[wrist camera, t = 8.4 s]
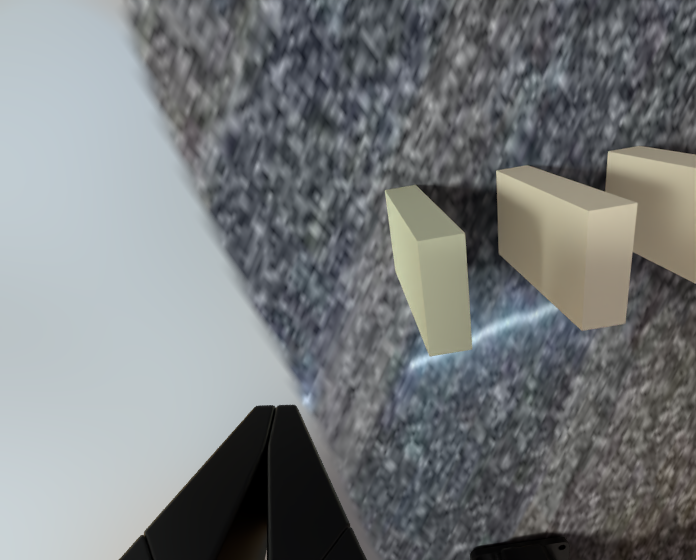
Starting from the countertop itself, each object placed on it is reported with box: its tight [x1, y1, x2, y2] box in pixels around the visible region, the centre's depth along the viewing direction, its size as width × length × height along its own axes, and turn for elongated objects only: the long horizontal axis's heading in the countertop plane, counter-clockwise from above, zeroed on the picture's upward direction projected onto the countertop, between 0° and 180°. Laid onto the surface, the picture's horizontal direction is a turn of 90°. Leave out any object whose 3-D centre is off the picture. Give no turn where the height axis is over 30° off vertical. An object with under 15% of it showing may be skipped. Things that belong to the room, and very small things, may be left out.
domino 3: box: [605, 146, 696, 284], centre depth 17 cm, size 4×1×8 cm, turn 9°
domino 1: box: [385, 185, 472, 356], centre depth 17 cm, size 4×1×8 cm, turn 9°
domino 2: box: [496, 165, 638, 331], centre depth 17 cm, size 4×1×8 cm, turn 9°
